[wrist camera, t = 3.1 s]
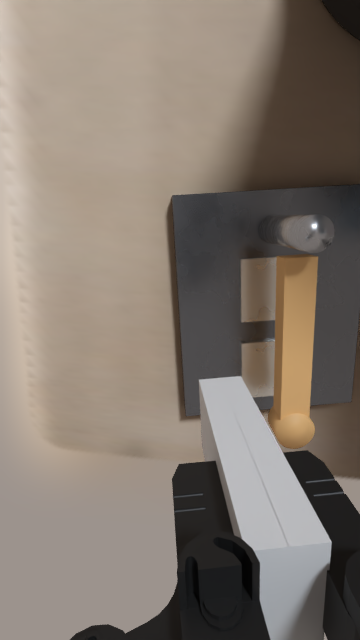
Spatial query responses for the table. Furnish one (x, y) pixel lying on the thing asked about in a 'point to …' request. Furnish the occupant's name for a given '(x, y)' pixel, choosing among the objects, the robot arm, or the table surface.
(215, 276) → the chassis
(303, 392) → the wooden lever handle
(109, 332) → the table surface
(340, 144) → the table surface
